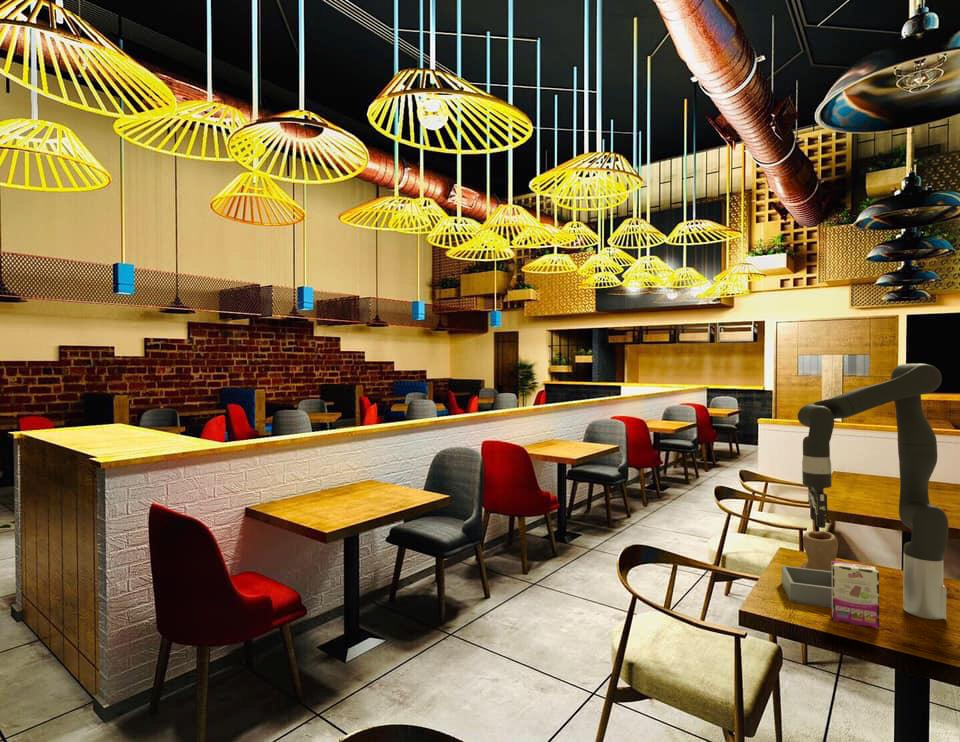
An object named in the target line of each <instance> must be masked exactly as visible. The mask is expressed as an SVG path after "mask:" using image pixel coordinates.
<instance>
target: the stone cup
mask: <svg viewBox="0 0 960 742" xmlns="http://www.w3.org/2000/svg"><path fill="white" fill-rule="evenodd" d="M802 542H803V549H804V551H805V554H806V557H807V561H803V562H802V563H801V565H800V568H807V569H815V570H824V571H831V561H836V560H837V555H838V550H839V544H838V539H837V537H836V536H835V535H834V534H833V533H831V532H829V531H825V530H823V531H822V530H820V531H815V530H813V531H812V530H811V531H808V532H806V533H804V535H803V536H802ZM836 562H837V561H836Z"/></svg>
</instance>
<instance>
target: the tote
mask: <svg viewBox="0 0 960 742" xmlns="http://www.w3.org/2000/svg"><path fill="white" fill-rule="evenodd" d="M781 585H782V587H783V589H784V591H785V594H786V596H787V598H788V601H789V602H790V603H793V604H795V603H796V604H801V605H809V606H816V607H823V608H828V609H832V572H831V571H824V570H815V569H807V568H801V567H796V566H789V565H781Z"/></svg>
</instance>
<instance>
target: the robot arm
mask: <svg viewBox="0 0 960 742" xmlns="http://www.w3.org/2000/svg"><path fill="white" fill-rule="evenodd" d="M942 378H943V377H942V374H941V371H940V370H939V369H938V368H936V366H934V365H931V364H927V363H902V364H899V365H896V367H895V368H894V369H893V371H892V372H891V375H890V380H887V381H884V382H880V383H875V384H873V385H868V386H862V387H860V388H859V387H858V388H855V389H853V390H850V391H847V392H844V393H841V394H838V395H836V396H834V397H831V398H827V399H823V400H819V401H815V402H812V403H809V404H806V405H803V407H801V408H800V409H799V411H798V412H797V420H798V422H799V423H800V424H801V425H802V426H804V427H806V428H809V430H808V435H807V436H805V437H804V438H803V440H802V462H801V465H802V467H801V468H802V470H801V471H802V472H801V473H802V474H801V475H802V476H801V477H802V484H803V485H802V486H805V487H807V502H808V503H807V504H809V507H810V509H809V511H810V512H809V513H810V519H811V520H812V521H815V523H816V524H815V525H816V527H817V528H821V529H825V528H826V526H827V525H826V516H827V515H828V513H829V511H828V495H827V493H825V490H824V489H829V488H831V487H832V485H833V484H832V481H833V480H832V461H831V450H830V449H831V447H830V446H831V445H830V441H831V439H832V435H833V432H834V428H835V427H834V426H835V420H838V419H847V418H850V417H853V416H855V415H859V414H860V413H864V412H866V411H868V410H872V409H874V408H877V407H880V406H882V405H885V404H889V403H892V402H894V407H895V416H896V417H895V418H896V429H897V453H898V462H899V463H898V469H899V480H900V484H899V485H900V486H899V488H900V489H899V500H898V516H899V520H900V521H901V522H902V524H903V525H904V526H905V527H907V528H908V529H910V530H911V539H910V541H908V542H905V543H904V545H903V577H902V578H903V582H902V583H903V586H902V587H903V589H902V590H903V591H902V592H903V595H902V596H903V598H902V604H903V605H902V606H903V607H902V608H903V610H904V611H905V612H906V613H908V614H910V615H912V616H916V617H918V618H922V619H926V620H947V587H946V585H944V556H945V553H946V551H947V549H948V539H949V520H948V516H947V514H946V513H945V512H944V511H943V509H941V508H939V507H938V506H935V505H933V504H931V503H930V498H929V496H930V495H929V482H930V478H931V477H932V475H933V472H934V470H935V468H936V466H937V463H938V443H937V437H936V434H935V432H934V429H933V427H932V426H931V424H930V422H929V420H928V419H927V417H926V415H925V413H924V411H923V406H922V395H927V394H931V393H933V392H934V391H936V390H937V389H938V388H939V387H940V386H941V384H942V381H943V379H942Z"/></svg>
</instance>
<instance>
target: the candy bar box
mask: <svg viewBox="0 0 960 742" xmlns="http://www.w3.org/2000/svg"><path fill="white" fill-rule="evenodd" d="M831 572H832V608H831V616H832V620H833V621H834V622H838V623H842V622H843V623H844V624H849V625H853V624H854V626H858V627H859V626H861V627H864V628H865V627H866V628H871V629H877V630H879V629H880V573H879V570H878V568H877V566H872V565H866V564H865V565H864V564H858V563H857V564H856V563H851V562H850V563H849V562H842V561H831Z"/></svg>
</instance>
